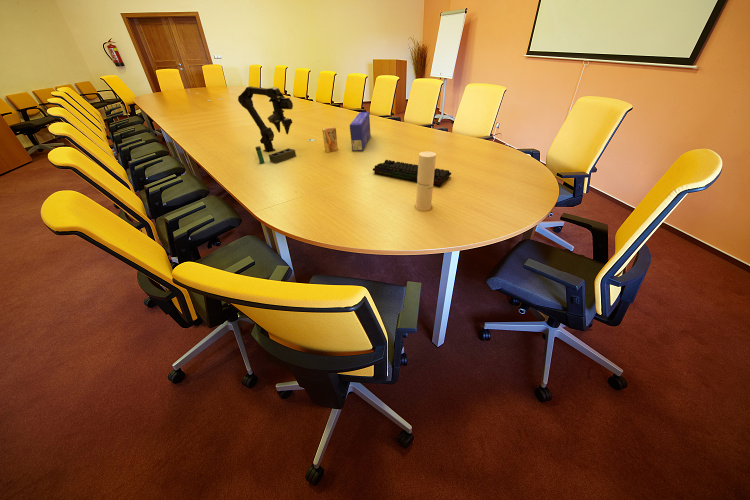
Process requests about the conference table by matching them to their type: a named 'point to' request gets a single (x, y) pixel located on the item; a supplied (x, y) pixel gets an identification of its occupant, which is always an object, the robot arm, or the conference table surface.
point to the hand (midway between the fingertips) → (283, 133)
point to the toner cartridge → (360, 131)
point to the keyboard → (408, 172)
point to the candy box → (330, 139)
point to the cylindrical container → (425, 180)
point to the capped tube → (259, 154)
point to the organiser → (282, 155)
